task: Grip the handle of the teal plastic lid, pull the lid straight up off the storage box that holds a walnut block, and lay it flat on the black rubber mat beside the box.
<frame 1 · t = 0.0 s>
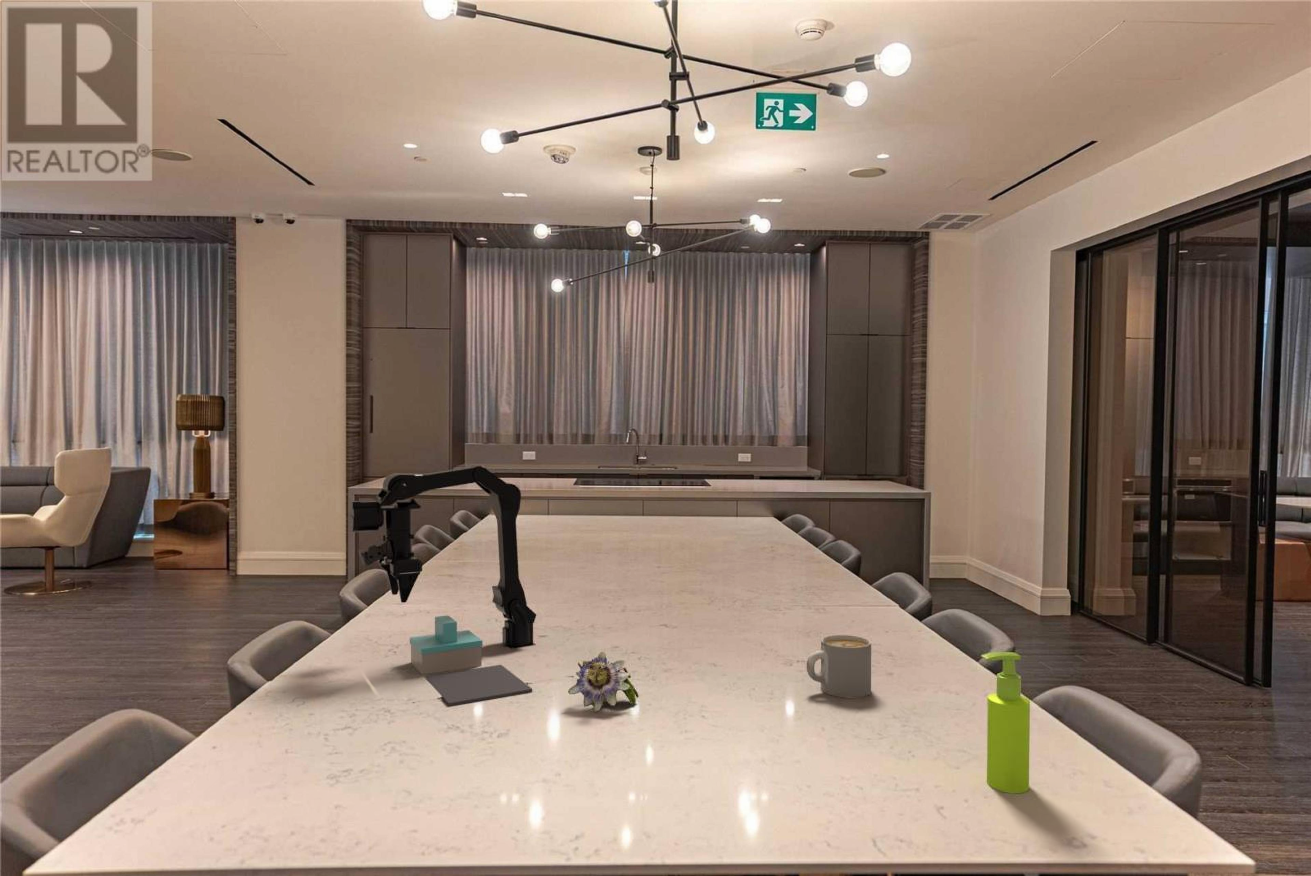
hand: (399, 598, 189), 15 cm above the table, tool pointing down, fingers open, 9 cm apart
passion flower: (603, 705, 163), on the table
lid: (445, 647, 187), point 4 cm above the table, touching storage box
coffee mug: (837, 690, 171), on the table
storage box: (446, 666, 187), on the table
rubber mat: (476, 685, 174), on the table
walnut block: (460, 663, 187), point 1 cm above the table, touching storage box
soap dispenser: (1004, 786, 127), on the table
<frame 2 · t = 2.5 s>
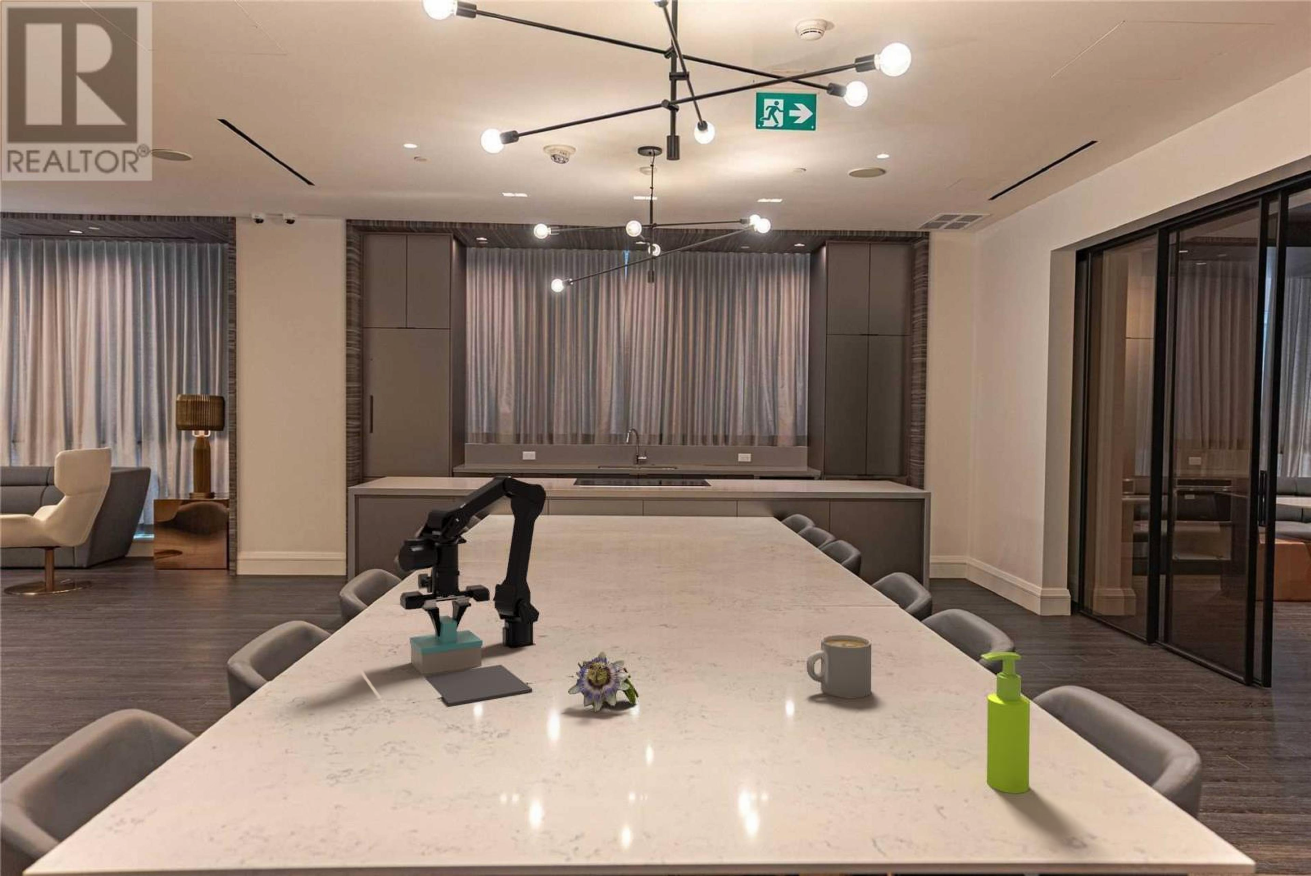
hand: (445, 635, 186), 7 cm above the table, tool pointing down, fingers closed on lid, 3 cm apart
lid: (445, 647, 187), point 4 cm above the table, touching gripper, storage box
everything else where it was.
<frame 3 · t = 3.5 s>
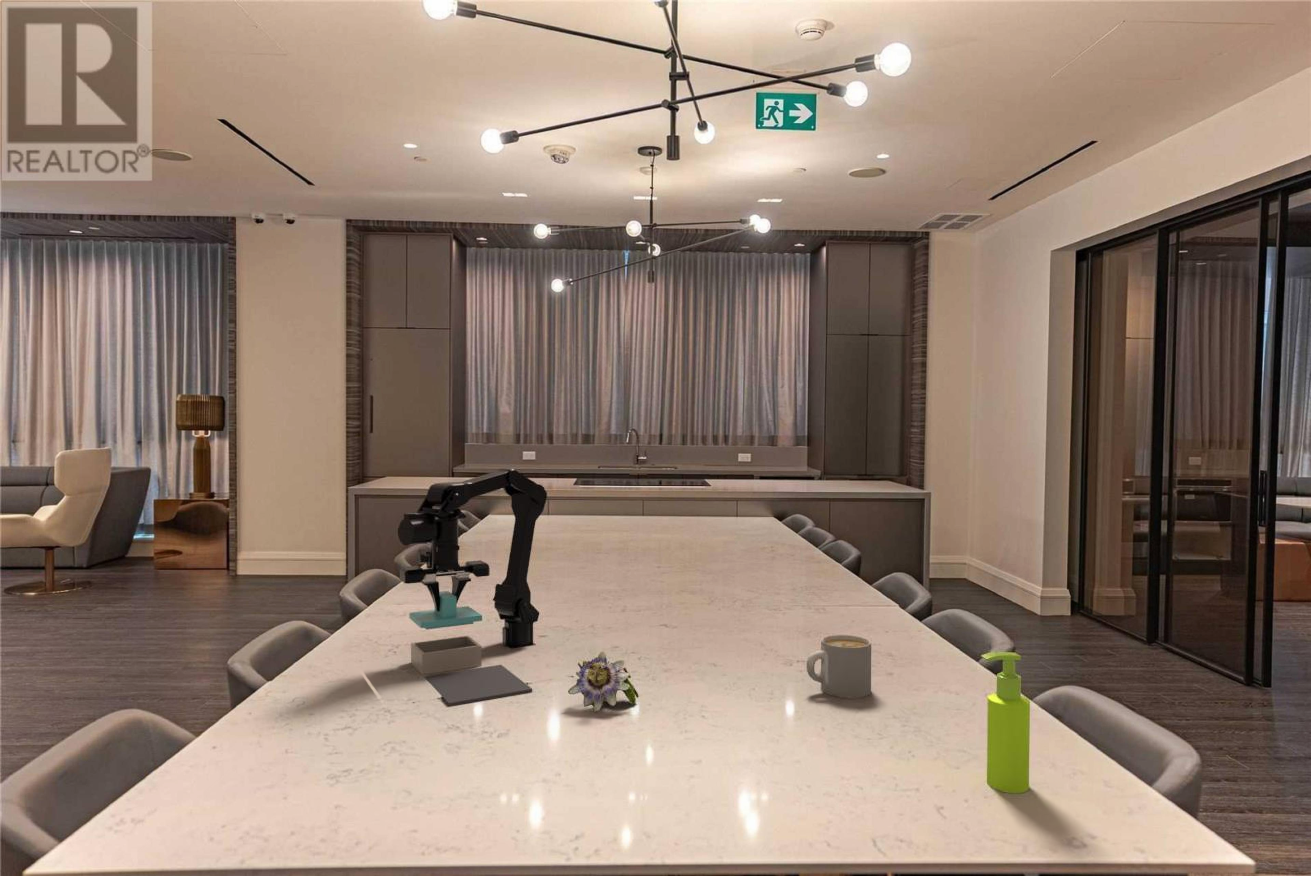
hand: (445, 610, 186), 13 cm above the table, tool pointing down, fingers closed on lid, 3 cm apart
lid: (445, 622, 186), point 10 cm above the table, touching gripper
everything else where it was.
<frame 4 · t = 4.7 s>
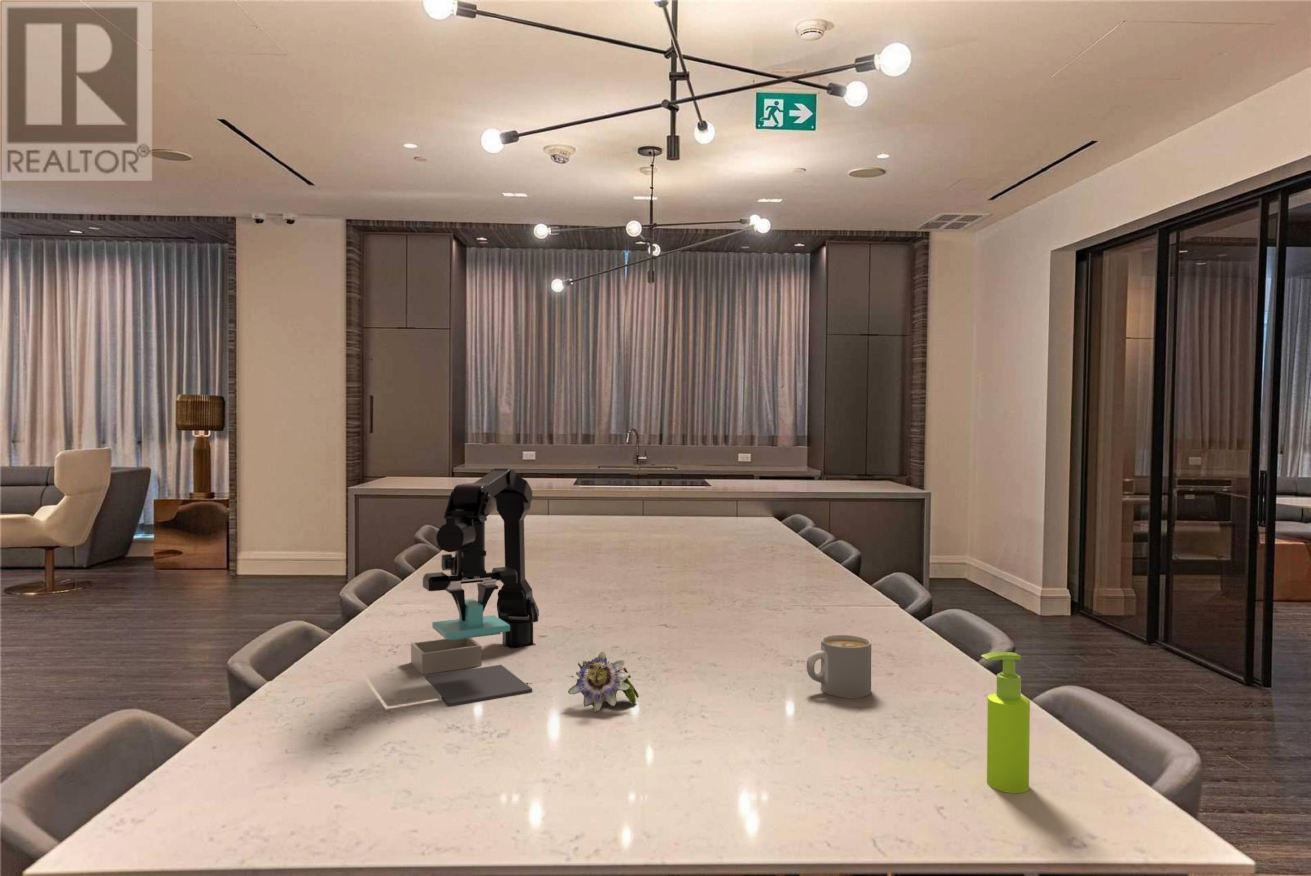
hand: (470, 619, 175), 13 cm above the table, tool pointing down, fingers closed on lid, 3 cm apart
lid: (470, 633, 175), point 10 cm above the table, touching gripper
everything else where it was.
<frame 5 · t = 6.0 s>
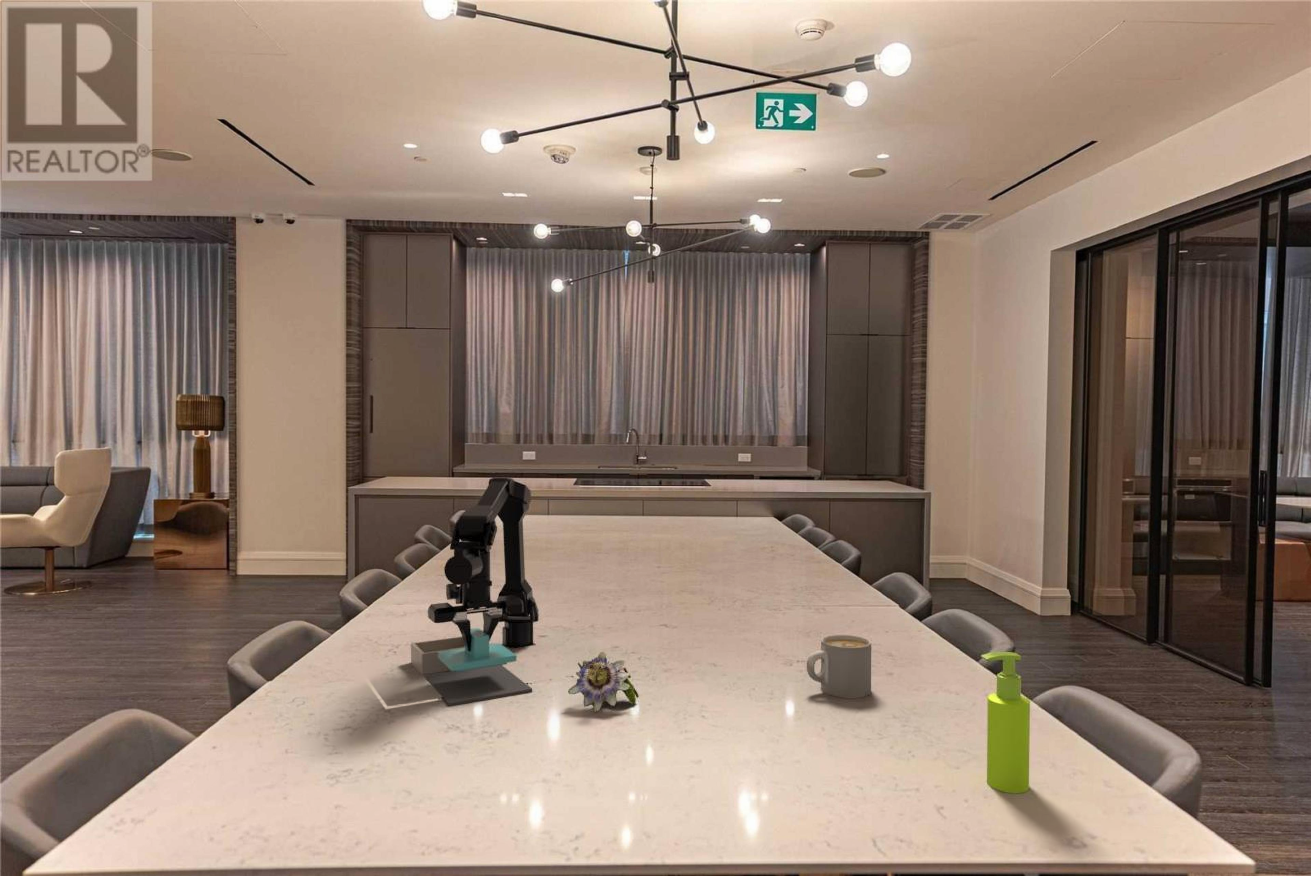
hand: (476, 649, 174), 7 cm above the table, tool pointing down, fingers closed on lid, 3 cm apart
lid: (476, 663, 174), point 5 cm above the table, touching gripper
everything else where it was.
when the fingers open (5 cm above the table, at t = 7.1 s): lid drops 2 cm, resting on rubber mat.
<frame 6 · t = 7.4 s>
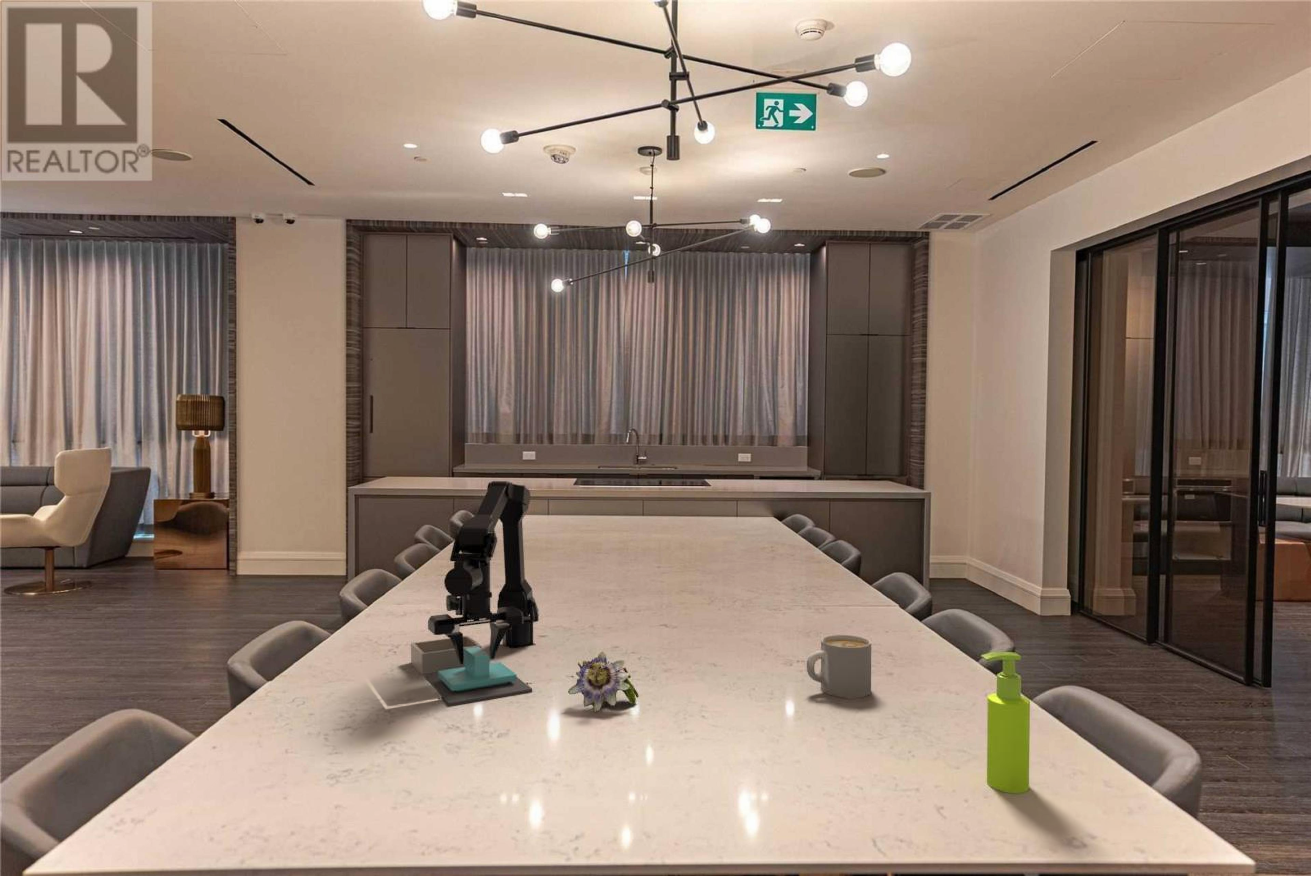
hand: (476, 661, 174), 5 cm above the table, tool pointing down, fingers open, 6 cm apart
lid: (477, 682, 174), point 1 cm above the table, touching rubber mat
everything else where it was.
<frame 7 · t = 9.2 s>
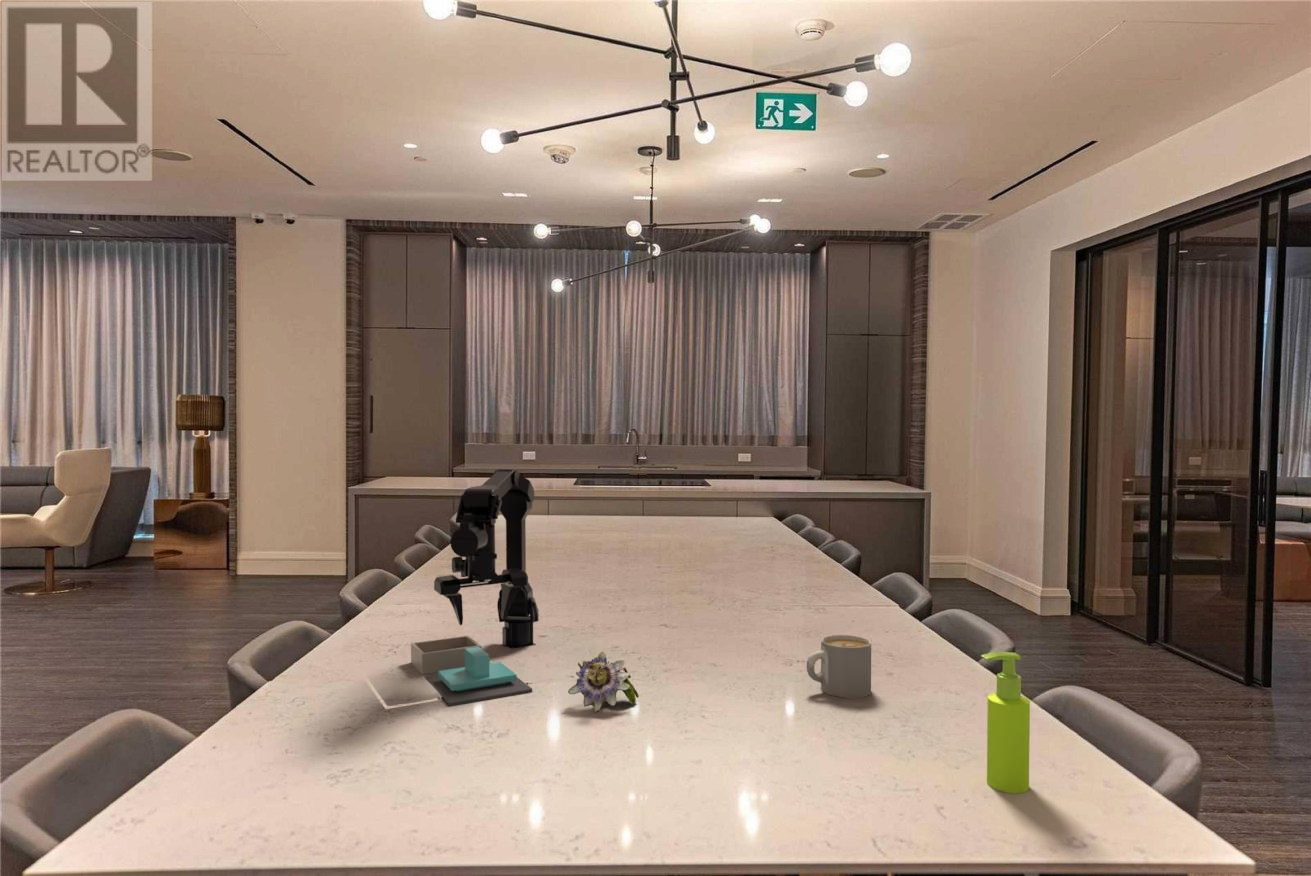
hand: (482, 621, 177), 12 cm above the table, tool pointing down, fingers open, 9 cm apart
nothing on the table moved.
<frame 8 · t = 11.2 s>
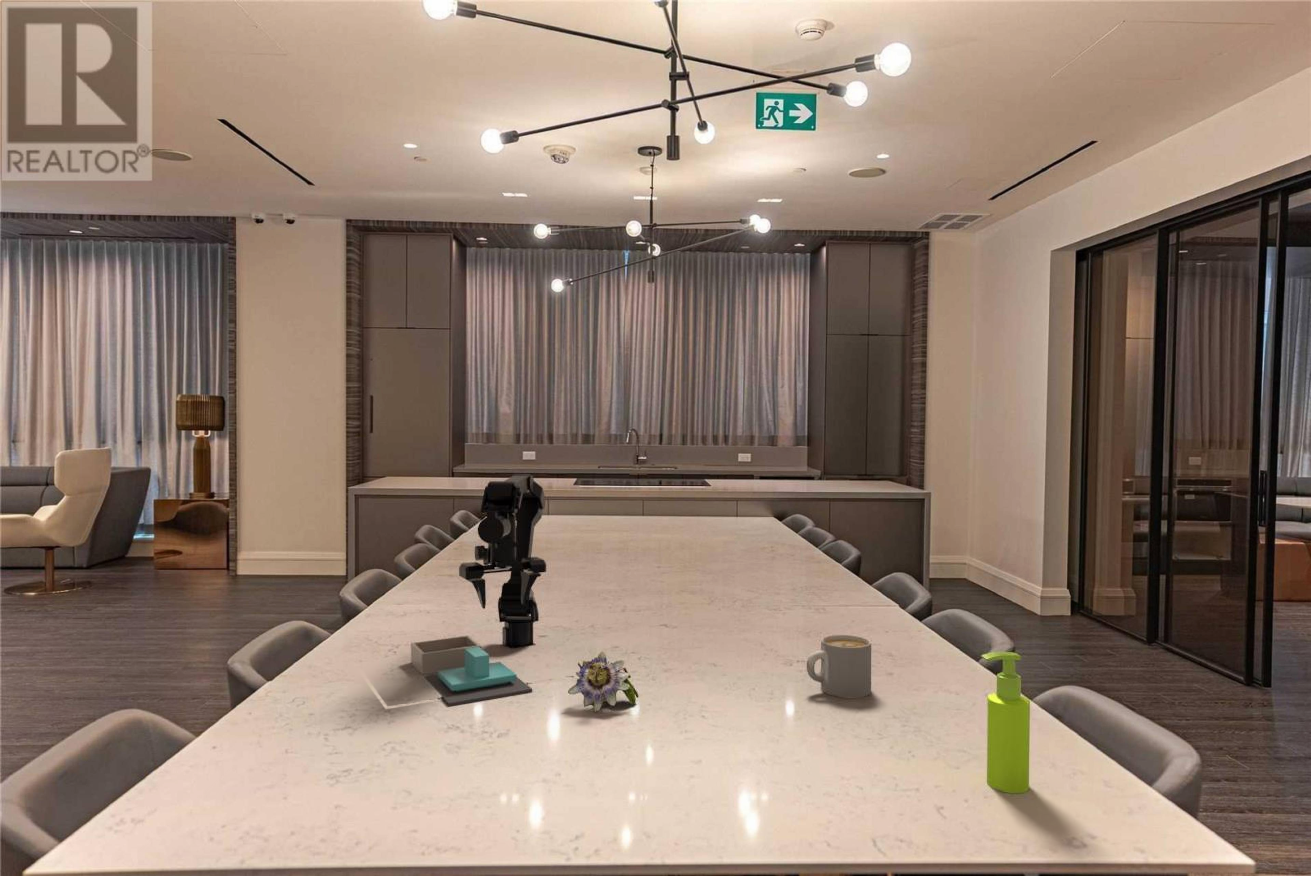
hand: (503, 606, 189), 13 cm above the table, tool pointing down, fingers open, 9 cm apart
nothing on the table moved.
at the end: lid inside the target area (0.1 cm from its centre), point 0.6 cm above the table; lid tilted 0°; the gripper is holding nothing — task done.
